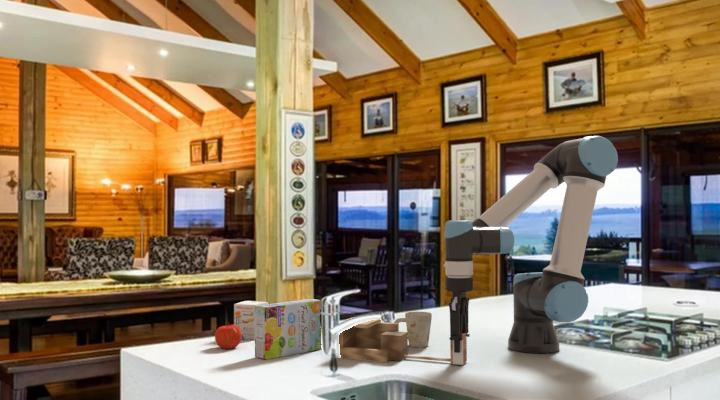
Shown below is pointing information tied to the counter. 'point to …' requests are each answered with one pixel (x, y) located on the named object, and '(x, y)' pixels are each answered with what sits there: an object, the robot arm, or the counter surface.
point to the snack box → (287, 328)
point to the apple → (228, 336)
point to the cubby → (365, 341)
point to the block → (399, 347)
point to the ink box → (246, 318)
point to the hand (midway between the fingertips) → (459, 362)
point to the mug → (417, 327)
